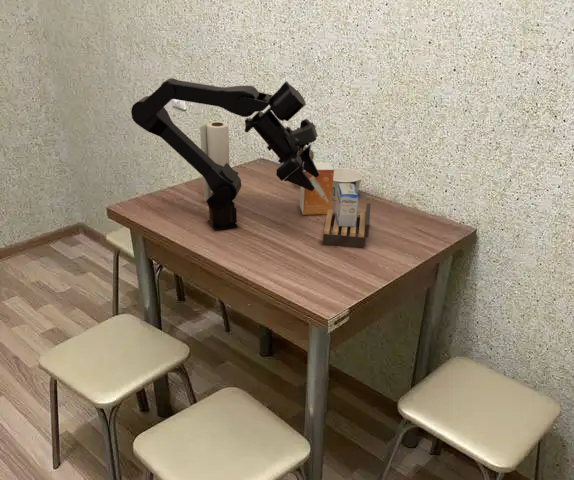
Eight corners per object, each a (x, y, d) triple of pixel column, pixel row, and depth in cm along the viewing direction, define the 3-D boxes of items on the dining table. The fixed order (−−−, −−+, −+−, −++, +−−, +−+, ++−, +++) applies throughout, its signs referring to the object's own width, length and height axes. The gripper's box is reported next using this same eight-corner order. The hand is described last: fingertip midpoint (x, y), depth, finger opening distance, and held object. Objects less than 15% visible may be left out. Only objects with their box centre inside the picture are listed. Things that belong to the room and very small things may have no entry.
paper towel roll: (232, 196, 172) (230, 121, 160) (228, 203, 168) (226, 127, 155) (208, 194, 173) (204, 120, 160) (204, 202, 168) (199, 125, 155)
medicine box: (334, 214, 153) (337, 182, 148) (351, 214, 153) (354, 182, 148) (338, 227, 147) (341, 194, 142) (355, 227, 147) (359, 194, 142)
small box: (302, 215, 162) (305, 169, 154) (299, 206, 167) (301, 161, 159) (331, 214, 163) (334, 169, 155) (326, 206, 168) (330, 161, 160)
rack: (322, 244, 147) (324, 220, 143) (326, 222, 159) (328, 200, 155) (366, 248, 146) (369, 224, 142) (367, 226, 157) (370, 203, 154)
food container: (369, 196, 175) (371, 175, 171) (341, 206, 169) (343, 184, 165) (341, 185, 182) (343, 164, 178) (313, 194, 176) (314, 172, 172)
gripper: (292, 123, 128) (336, 176, 134) (304, 101, 143) (343, 150, 148) (257, 154, 134) (301, 204, 140) (272, 130, 148) (311, 176, 154)
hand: (315, 182), depth 145 cm, fingers open, 9 cm apart
